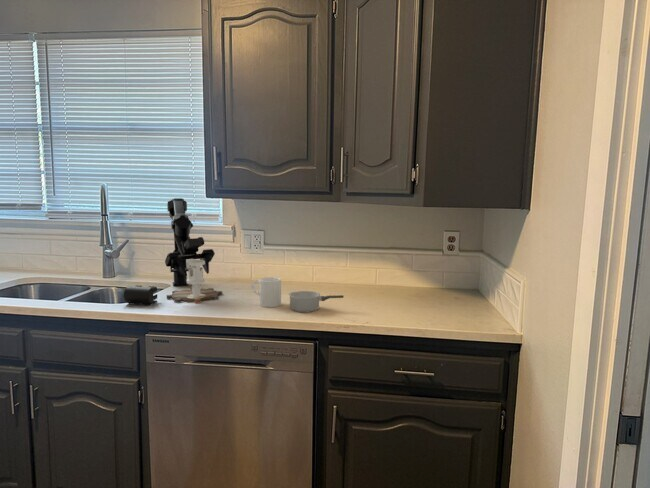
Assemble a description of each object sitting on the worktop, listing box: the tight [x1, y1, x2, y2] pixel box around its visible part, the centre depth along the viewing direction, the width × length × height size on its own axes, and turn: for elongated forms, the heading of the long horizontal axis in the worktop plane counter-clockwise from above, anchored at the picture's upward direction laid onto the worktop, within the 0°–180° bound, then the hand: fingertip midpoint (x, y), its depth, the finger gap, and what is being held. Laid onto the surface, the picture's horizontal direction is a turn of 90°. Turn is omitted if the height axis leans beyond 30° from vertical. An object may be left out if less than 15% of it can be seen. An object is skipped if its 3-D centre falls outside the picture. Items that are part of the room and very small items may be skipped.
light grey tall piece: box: [186, 259, 206, 297], centre depth 171 cm, size 7×7×15 cm
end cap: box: [123, 285, 158, 306], centre depth 165 cm, size 10×7×7 cm
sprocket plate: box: [166, 287, 223, 304], centre depth 178 cm, size 22×22×2 cm
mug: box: [250, 276, 282, 308], centre depth 167 cm, size 8×12×10 cm, turn 73°
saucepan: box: [288, 290, 345, 313], centre depth 160 cm, size 12×20×6 cm, turn 85°
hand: (197, 274), depth 170 cm, fingers open, 9 cm apart
